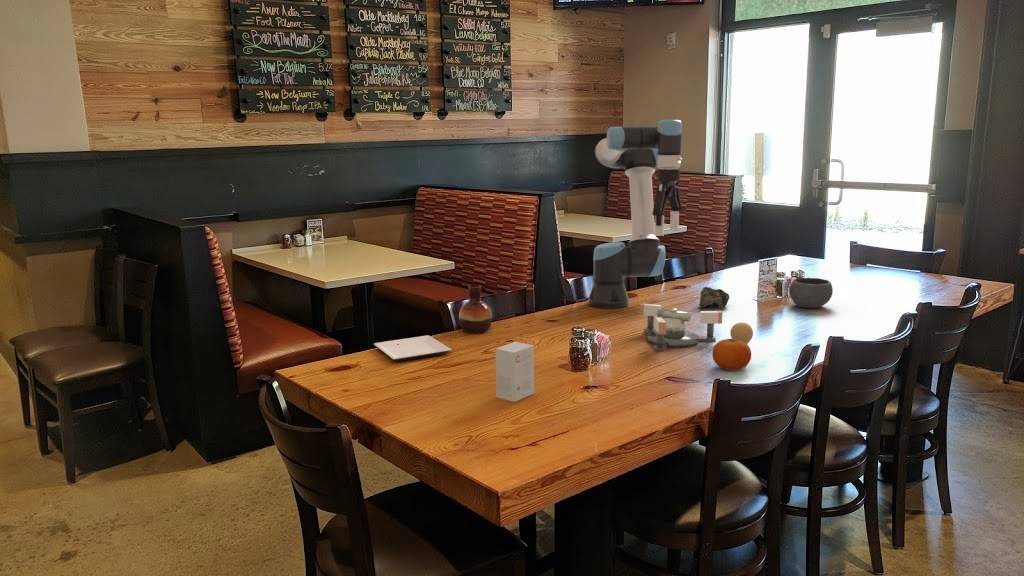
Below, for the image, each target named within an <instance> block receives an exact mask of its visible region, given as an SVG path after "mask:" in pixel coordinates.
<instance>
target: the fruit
mask: <svg viewBox="0 0 1024 576" xmlns="http://www.w3.org/2000/svg"><path fill="white" fill-rule="evenodd" d="M711 353H712V354H711V355H712V360H713V361H714V363H715V364H716V366H718V367H719V368H720V369H723V370H725V371H738V370H742V369H745V367H747V366H748V364H749V363H750V362H751V360H752V349H751V347H750V346H749V345H748V344H746V343H745V342H743V341H740V340H737V339H732V338H726V339H722V340H719V341H718V342H716V343H715V344H714V346H713V347H712V352H711Z"/></svg>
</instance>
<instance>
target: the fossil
mask: <svg viewBox="0 0 1024 576" xmlns="http://www.w3.org/2000/svg"><path fill="white" fill-rule="evenodd" d="M729 300H730V294H728V292H725V291H724V290H723V289H722V288H717V289H715V288H712V287H710V286H704V287H702V289H701V291H700V298H699V304H698V305H699V308H700V309H703V308H705V307H707V306H709V305H712V304H713V305H714V306H717V307H718V308H719V311H723V310H724V309H726V306H727V305H728V302H729Z"/></svg>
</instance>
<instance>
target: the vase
mask: <svg viewBox="0 0 1024 576" xmlns="http://www.w3.org/2000/svg"><path fill="white" fill-rule="evenodd" d="M481 289H482V285H480V284H469V285H468V294H469V299H468V301H467V302H465V303H464V304H463V305H462V306H461V308H460V310H459V314H458V321H459V325H460V328H461V330H463V332H465V333H467V334H482V333H486V332H487V331H488V330H489V329H490V327H491V325H492V319H493V314H492V310H491V308H490V306H489V305H488V304H487V303H486V302H484V301H482V299H481V297H482V296H481V295H482V294H481V293H482V291H481Z"/></svg>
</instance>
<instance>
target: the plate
mask: <svg viewBox="0 0 1024 576" xmlns="http://www.w3.org/2000/svg"><path fill="white" fill-rule="evenodd" d="M397 344H399V345H397ZM373 345H374V346H375V347H376V348H377V349H379V351H382V352H383V353H384V354H385V355H386V356H388V357H389V358H390V359H392V360H393V361H398V362H400V361H407V360H412V359H419V358H426V357H431V356H437V355H443V354H446V353H449V352H452V351H453V349H452V348H451V347H449V346H447V345H445V344H443V343H442V342H441V341H439V340H437V339H435V338H434V337H432V336H431V335H429V334H428V335H421V336H414V337H409V338H408V337H407V338H401V339H393V340H387V341H381V342H375V343H373Z"/></svg>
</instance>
